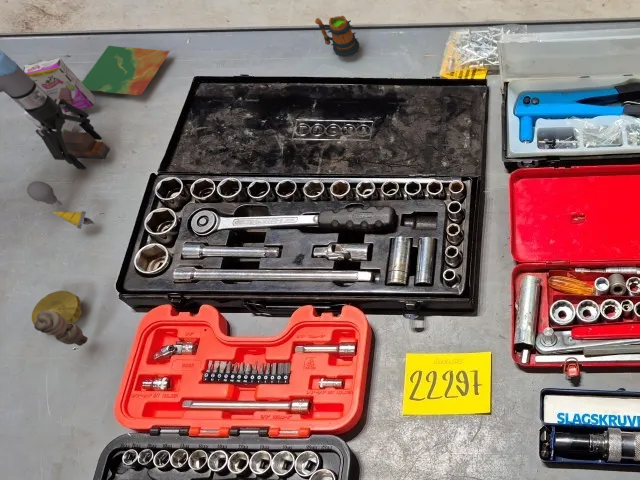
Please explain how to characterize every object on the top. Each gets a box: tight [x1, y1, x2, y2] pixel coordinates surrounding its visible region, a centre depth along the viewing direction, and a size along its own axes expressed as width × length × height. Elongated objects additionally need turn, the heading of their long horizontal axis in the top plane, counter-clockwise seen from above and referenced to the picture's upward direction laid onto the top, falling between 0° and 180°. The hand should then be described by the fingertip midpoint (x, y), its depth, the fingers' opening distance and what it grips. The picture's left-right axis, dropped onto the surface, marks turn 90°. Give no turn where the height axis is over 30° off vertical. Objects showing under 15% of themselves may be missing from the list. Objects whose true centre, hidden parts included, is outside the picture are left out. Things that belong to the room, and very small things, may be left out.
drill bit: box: [52, 210, 96, 230], centre depth 159 cm, size 5×5×10 cm
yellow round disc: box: [31, 290, 83, 325], centre depth 148 cm, size 12×12×2 cm
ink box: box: [23, 110, 76, 135], centre depth 174 cm, size 9×5×12 cm, turn 1°
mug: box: [314, 15, 361, 58], centre depth 190 cm, size 13×10×12 cm
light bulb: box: [26, 180, 63, 209], centre depth 161 cm, size 6×6×10 cm
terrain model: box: [81, 45, 170, 96], centre depth 192 cm, size 25×22×1 cm
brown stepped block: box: [62, 131, 111, 161], centre depth 172 cm, size 12×4×8 cm, turn 86°
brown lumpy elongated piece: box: [33, 310, 88, 347], centre depth 138 cm, size 6×6×15 cm
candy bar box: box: [22, 57, 96, 114], centre depth 177 cm, size 11×5×16 cm, turn 108°
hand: (90, 153), depth 175 cm, fingers open, 12 cm apart
